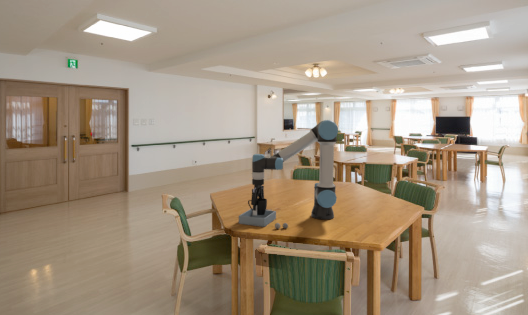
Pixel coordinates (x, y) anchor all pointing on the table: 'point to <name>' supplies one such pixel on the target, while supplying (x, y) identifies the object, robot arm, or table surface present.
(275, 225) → the pebble
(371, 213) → the table surface
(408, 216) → the table surface
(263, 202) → the mug
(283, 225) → the pebble
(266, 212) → the bin
